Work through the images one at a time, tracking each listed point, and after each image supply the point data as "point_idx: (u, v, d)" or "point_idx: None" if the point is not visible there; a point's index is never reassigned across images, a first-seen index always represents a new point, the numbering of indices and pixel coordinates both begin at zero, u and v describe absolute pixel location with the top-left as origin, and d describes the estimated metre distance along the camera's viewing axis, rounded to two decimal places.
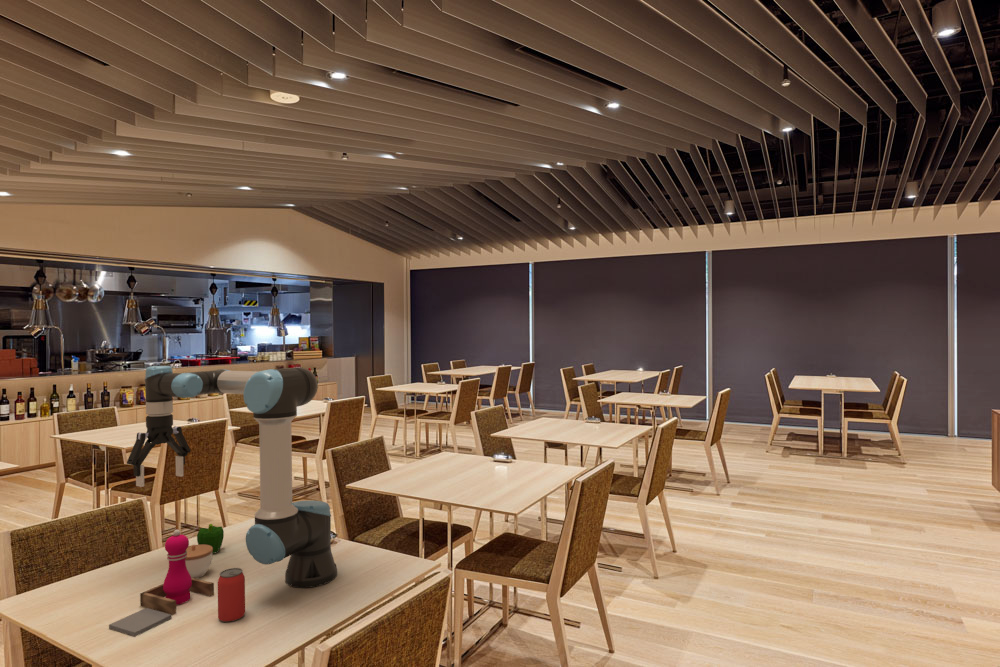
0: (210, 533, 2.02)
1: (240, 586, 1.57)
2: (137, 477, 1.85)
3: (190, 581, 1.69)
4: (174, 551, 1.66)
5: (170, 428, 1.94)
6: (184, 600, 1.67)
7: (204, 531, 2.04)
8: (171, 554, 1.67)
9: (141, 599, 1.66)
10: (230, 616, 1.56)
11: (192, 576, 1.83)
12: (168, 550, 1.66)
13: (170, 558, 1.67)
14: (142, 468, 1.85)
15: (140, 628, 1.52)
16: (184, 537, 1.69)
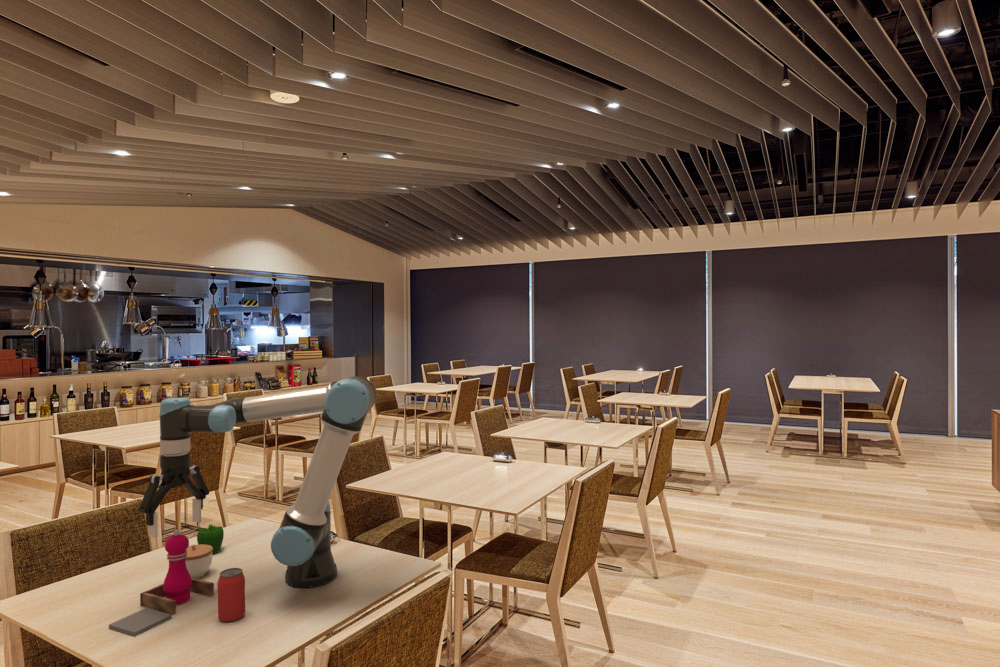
0: (210, 533, 2.02)
1: (240, 586, 1.57)
2: (150, 526, 1.62)
3: (190, 581, 1.69)
4: (174, 551, 1.66)
5: (187, 468, 1.71)
6: (184, 600, 1.67)
7: (204, 531, 2.04)
8: (171, 554, 1.67)
9: (141, 599, 1.66)
10: (230, 616, 1.56)
11: (192, 576, 1.83)
12: (168, 550, 1.66)
13: (170, 558, 1.67)
14: (156, 516, 1.62)
15: (140, 628, 1.52)
16: (184, 537, 1.69)
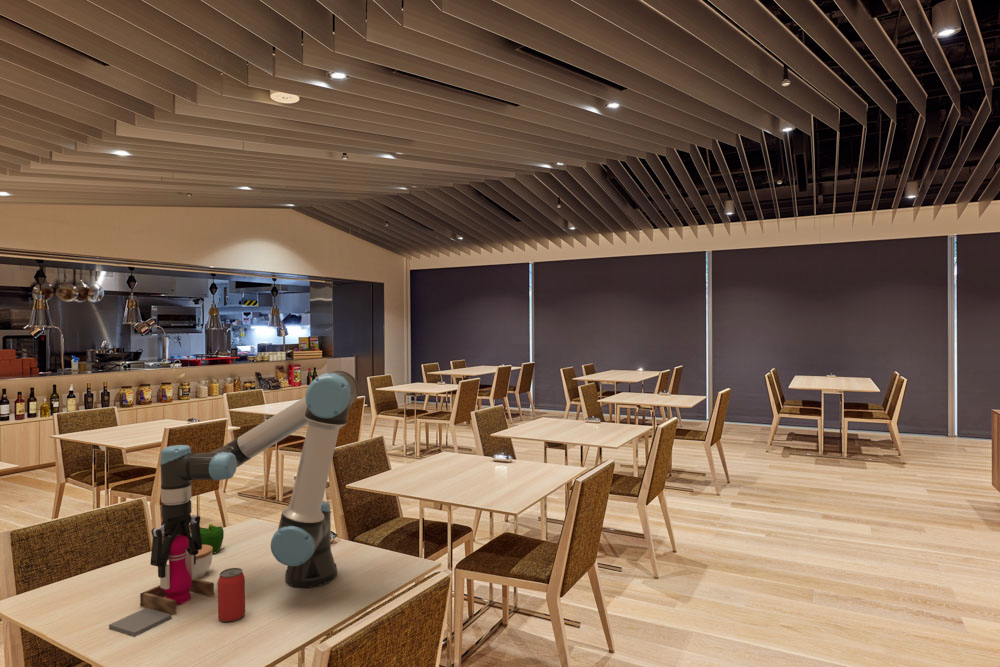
0: (210, 533, 2.02)
1: (240, 586, 1.57)
2: (162, 578, 1.65)
3: (190, 581, 1.69)
4: (174, 551, 1.66)
5: (189, 515, 1.71)
6: (184, 600, 1.67)
7: (204, 531, 2.04)
8: (171, 554, 1.67)
9: (141, 599, 1.66)
10: (230, 616, 1.56)
11: None
12: None
13: (170, 558, 1.67)
14: (167, 568, 1.65)
15: (140, 628, 1.52)
16: (184, 537, 1.69)
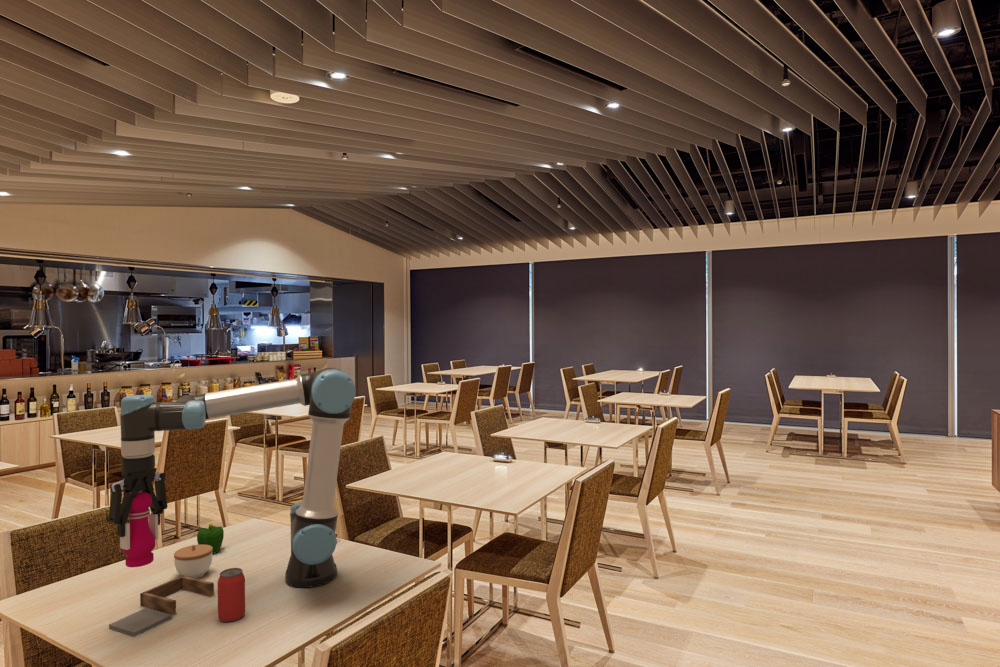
0: (210, 533, 2.02)
1: (240, 586, 1.57)
2: (121, 538, 1.52)
3: (153, 542, 1.56)
4: (135, 509, 1.53)
5: (153, 471, 1.58)
6: (146, 562, 1.54)
7: (204, 531, 2.04)
8: (132, 512, 1.54)
9: (141, 599, 1.66)
10: (230, 616, 1.56)
11: (192, 576, 1.83)
12: None
13: (131, 516, 1.53)
14: (127, 527, 1.52)
15: (140, 628, 1.52)
16: (146, 494, 1.56)
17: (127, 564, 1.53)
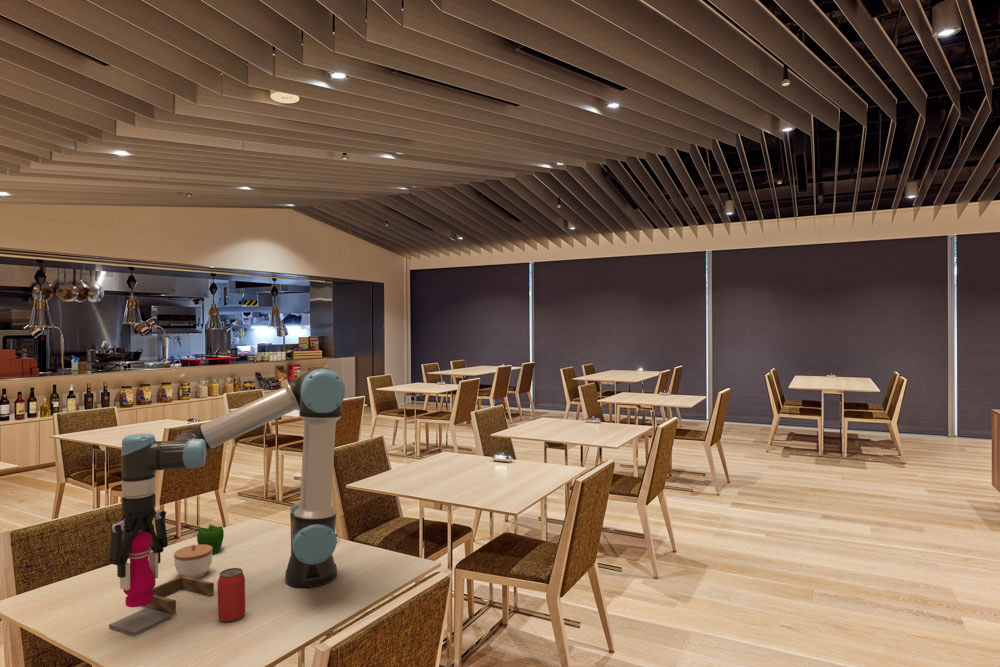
0: (210, 533, 2.02)
1: (240, 586, 1.57)
2: (122, 578, 1.52)
3: (153, 581, 1.56)
4: (135, 549, 1.53)
5: (153, 510, 1.58)
6: (146, 602, 1.54)
7: (204, 531, 2.04)
8: (132, 552, 1.54)
9: None
10: (230, 616, 1.56)
11: (192, 576, 1.83)
12: None
13: (131, 556, 1.53)
14: (128, 567, 1.52)
15: (140, 628, 1.52)
16: (147, 533, 1.56)
17: (127, 604, 1.53)
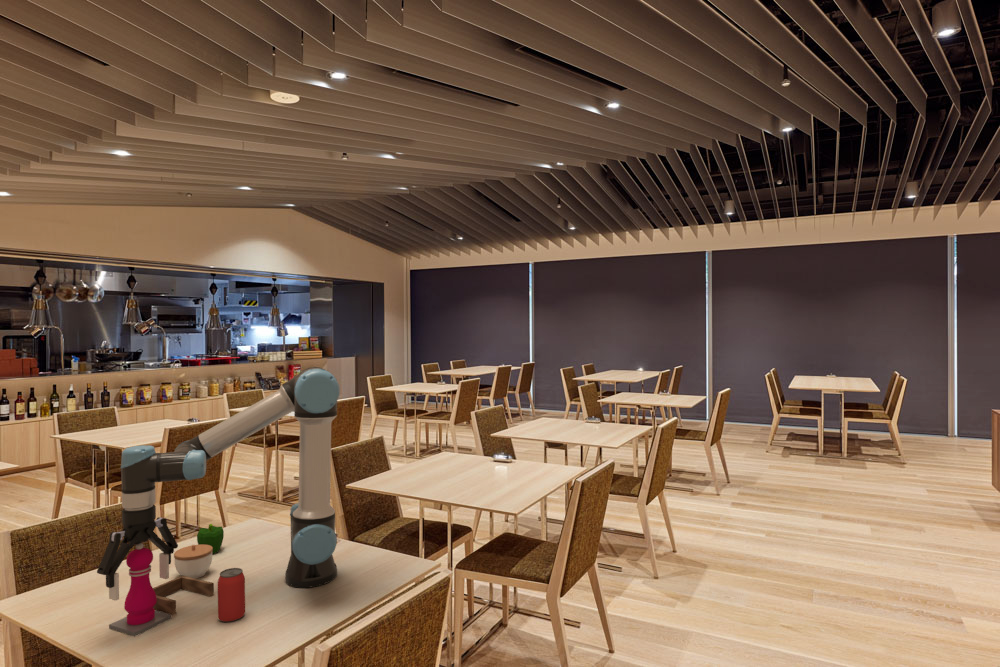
0: (210, 533, 2.02)
1: (240, 586, 1.57)
2: (110, 588, 1.50)
3: (154, 598, 1.56)
4: (136, 567, 1.53)
5: (152, 522, 1.58)
6: (147, 619, 1.54)
7: (204, 531, 2.04)
8: (133, 569, 1.54)
9: None
10: (230, 616, 1.56)
11: (192, 576, 1.83)
12: (130, 565, 1.53)
13: (132, 574, 1.54)
14: (116, 577, 1.49)
15: (140, 628, 1.52)
16: (148, 551, 1.56)
17: (128, 622, 1.53)
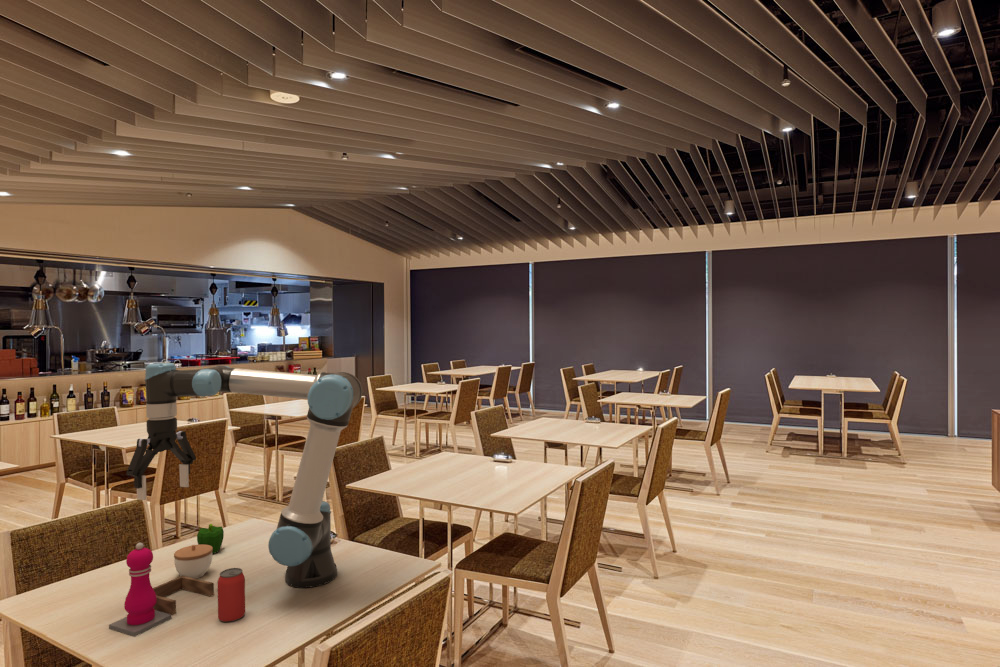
0: (210, 533, 2.02)
1: (239, 586, 1.57)
2: (138, 489, 1.63)
3: (154, 598, 1.56)
4: (136, 567, 1.53)
5: (174, 433, 1.72)
6: (147, 619, 1.54)
7: (204, 531, 2.04)
8: (133, 569, 1.54)
9: None
10: (230, 616, 1.56)
11: (192, 576, 1.83)
12: (130, 565, 1.53)
13: (132, 574, 1.54)
14: (144, 479, 1.63)
15: (140, 628, 1.52)
16: (148, 551, 1.56)
17: (128, 622, 1.53)
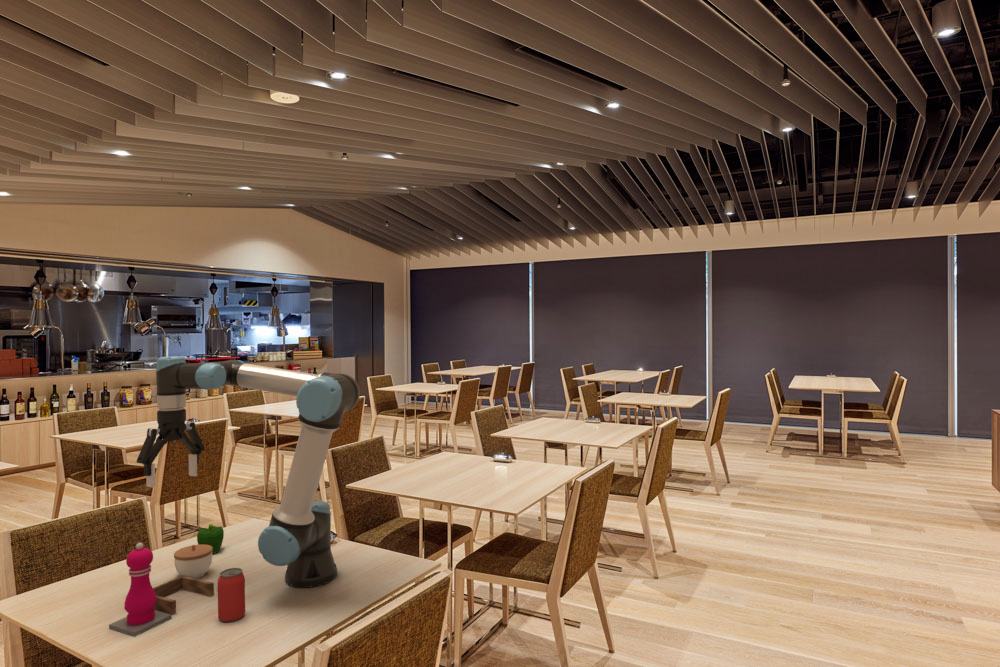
0: (210, 533, 2.02)
1: (240, 586, 1.57)
2: (148, 477, 1.70)
3: (154, 598, 1.56)
4: (136, 567, 1.53)
5: (183, 424, 1.79)
6: (147, 619, 1.54)
7: (204, 531, 2.04)
8: (133, 569, 1.54)
9: None
10: (230, 616, 1.56)
11: (192, 576, 1.83)
12: (130, 565, 1.53)
13: (132, 574, 1.54)
14: (153, 467, 1.70)
15: (140, 628, 1.52)
16: (148, 551, 1.56)
17: (128, 622, 1.53)
